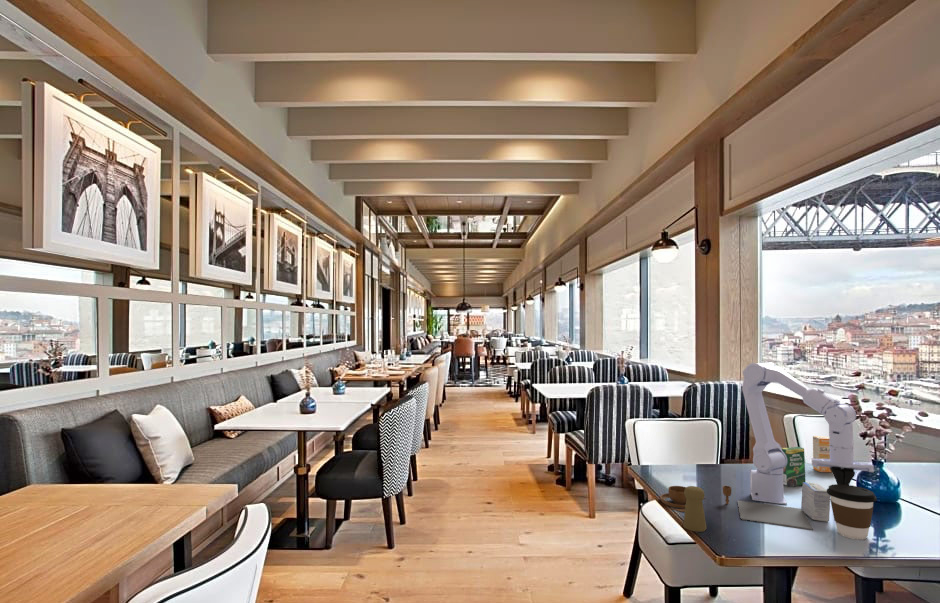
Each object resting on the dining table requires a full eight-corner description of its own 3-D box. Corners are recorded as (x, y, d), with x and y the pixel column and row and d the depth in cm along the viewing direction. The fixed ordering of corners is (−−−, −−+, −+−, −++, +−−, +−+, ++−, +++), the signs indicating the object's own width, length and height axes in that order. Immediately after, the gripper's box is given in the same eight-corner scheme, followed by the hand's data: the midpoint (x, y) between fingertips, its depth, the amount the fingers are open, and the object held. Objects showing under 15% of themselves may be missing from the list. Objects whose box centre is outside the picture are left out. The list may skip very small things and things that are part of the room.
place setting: (667, 493, 174) (666, 475, 174) (733, 505, 163) (732, 486, 163) (654, 508, 159) (654, 489, 159) (726, 522, 148) (725, 501, 148)
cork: (705, 524, 145) (704, 485, 145) (707, 532, 139) (707, 491, 140) (682, 522, 147) (681, 482, 147) (683, 529, 141) (683, 489, 142)
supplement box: (819, 472, 198) (818, 438, 199) (812, 468, 203) (812, 435, 204) (842, 473, 197) (841, 439, 198) (835, 470, 202) (835, 436, 202)
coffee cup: (856, 527, 144) (855, 483, 144) (889, 543, 133) (887, 496, 134) (818, 527, 144) (816, 483, 144) (847, 543, 133) (846, 496, 133)
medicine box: (829, 522, 147) (831, 492, 147) (812, 520, 148) (814, 489, 148) (816, 512, 155) (818, 483, 155) (800, 510, 156) (802, 481, 156)
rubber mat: (740, 519, 149) (740, 518, 149) (737, 501, 164) (737, 500, 164) (813, 530, 141) (813, 528, 141) (802, 510, 157) (802, 508, 157)
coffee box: (786, 487, 180) (785, 449, 180) (780, 484, 182) (779, 447, 183) (806, 485, 181) (805, 448, 182) (799, 483, 184) (798, 446, 185)
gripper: (814, 446, 149) (815, 494, 148) (876, 452, 143) (878, 501, 142) (809, 441, 155) (811, 487, 155) (868, 446, 149) (870, 494, 149)
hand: (842, 494), depth 149 cm, fingers closed
